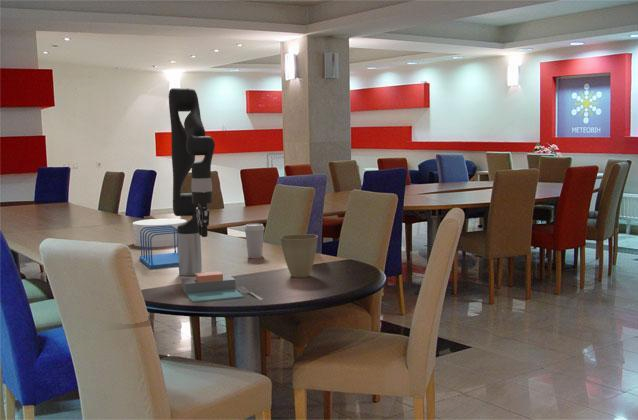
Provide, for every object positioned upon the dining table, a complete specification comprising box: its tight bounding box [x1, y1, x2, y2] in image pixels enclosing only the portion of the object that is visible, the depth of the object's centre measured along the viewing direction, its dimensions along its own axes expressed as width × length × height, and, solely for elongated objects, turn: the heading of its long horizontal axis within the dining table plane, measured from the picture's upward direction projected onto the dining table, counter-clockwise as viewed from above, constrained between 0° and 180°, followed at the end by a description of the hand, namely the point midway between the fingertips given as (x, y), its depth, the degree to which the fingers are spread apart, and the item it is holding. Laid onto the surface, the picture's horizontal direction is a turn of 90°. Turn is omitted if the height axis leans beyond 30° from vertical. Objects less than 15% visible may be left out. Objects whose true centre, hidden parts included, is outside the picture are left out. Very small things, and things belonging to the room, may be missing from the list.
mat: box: [185, 288, 244, 303], centre depth 245 cm, size 12×18×1 cm, turn 110°
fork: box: [235, 285, 264, 301], centre depth 245 cm, size 3×24×2 cm, turn 31°
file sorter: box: [139, 225, 179, 270], centre depth 312 cm, size 25×17×15 cm
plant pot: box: [280, 233, 319, 278], centre depth 278 cm, size 15×15×16 cm
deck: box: [180, 274, 236, 295], centre depth 256 cm, size 10×18×4 cm, turn 110°
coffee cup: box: [243, 223, 266, 259], centre depth 323 cm, size 10×10×15 cm
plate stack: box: [132, 218, 188, 248], centre depth 370 cm, size 28×28×12 cm
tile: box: [194, 270, 224, 283], centre depth 254 cm, size 6×9×2 cm, turn 110°
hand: (203, 235), depth 260 cm, fingers open, 4 cm apart
